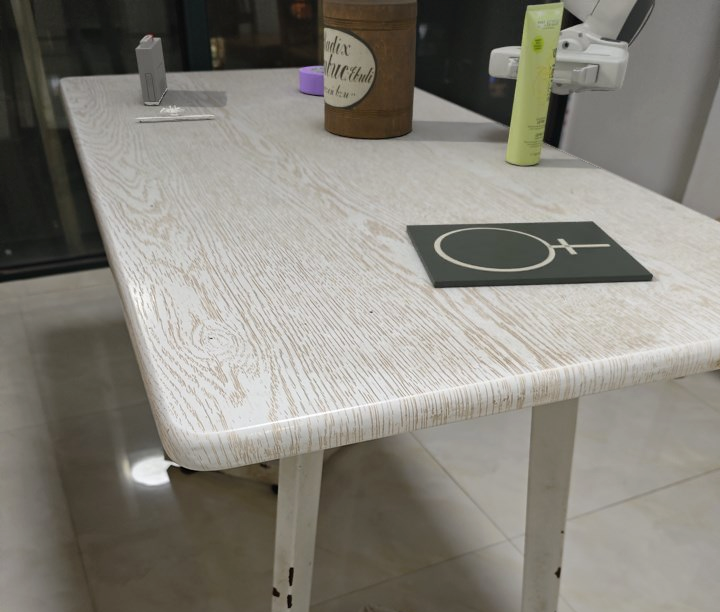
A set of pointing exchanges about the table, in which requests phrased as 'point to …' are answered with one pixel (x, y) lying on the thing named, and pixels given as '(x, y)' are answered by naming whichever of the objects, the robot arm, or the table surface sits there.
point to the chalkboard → (522, 254)
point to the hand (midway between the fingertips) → (543, 73)
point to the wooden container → (369, 67)
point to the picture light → (176, 113)
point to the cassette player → (151, 68)
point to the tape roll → (312, 80)
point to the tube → (534, 83)
